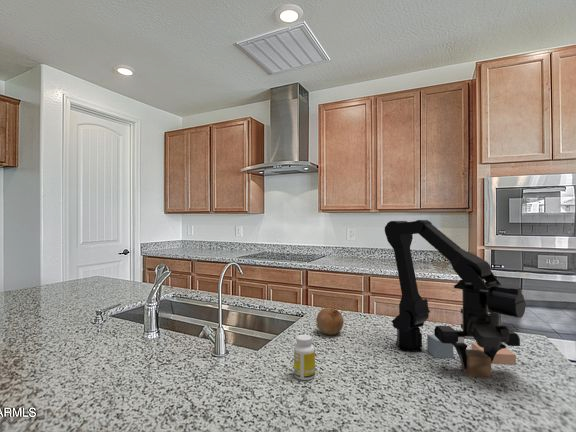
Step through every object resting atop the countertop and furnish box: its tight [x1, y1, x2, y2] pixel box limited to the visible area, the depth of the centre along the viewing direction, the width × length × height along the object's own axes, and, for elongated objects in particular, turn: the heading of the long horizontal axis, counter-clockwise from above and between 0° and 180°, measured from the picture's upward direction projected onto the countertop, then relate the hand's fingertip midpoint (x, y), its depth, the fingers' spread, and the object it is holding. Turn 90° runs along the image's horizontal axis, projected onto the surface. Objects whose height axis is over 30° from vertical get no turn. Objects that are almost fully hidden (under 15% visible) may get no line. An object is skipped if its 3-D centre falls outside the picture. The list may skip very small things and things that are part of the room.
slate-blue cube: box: [426, 333, 454, 359], centre depth 94 cm, size 5×5×5 cm
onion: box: [315, 307, 345, 336], centre depth 111 cm, size 10×9×10 cm
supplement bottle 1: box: [293, 334, 316, 381], centre depth 81 cm, size 5×5×10 cm
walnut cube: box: [460, 348, 492, 379], centre depth 82 cm, size 5×5×5 cm
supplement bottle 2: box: [488, 309, 501, 326], centre depth 105 cm, size 7×7×12 cm
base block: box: [470, 341, 517, 365], centre depth 91 cm, size 8×8×3 cm
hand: (475, 368), depth 82 cm, fingers closed on walnut cube, 5 cm apart
